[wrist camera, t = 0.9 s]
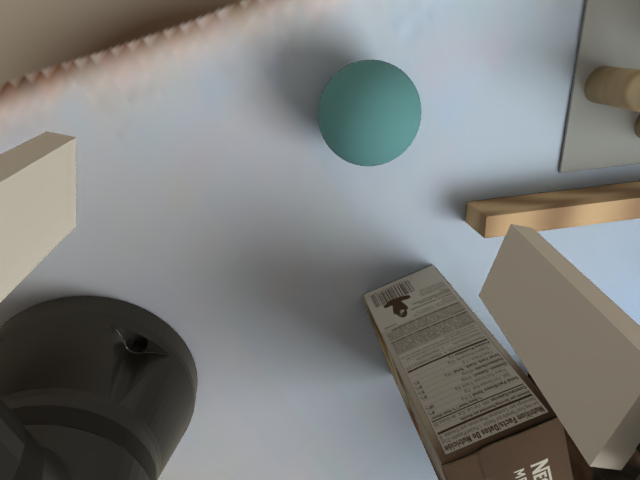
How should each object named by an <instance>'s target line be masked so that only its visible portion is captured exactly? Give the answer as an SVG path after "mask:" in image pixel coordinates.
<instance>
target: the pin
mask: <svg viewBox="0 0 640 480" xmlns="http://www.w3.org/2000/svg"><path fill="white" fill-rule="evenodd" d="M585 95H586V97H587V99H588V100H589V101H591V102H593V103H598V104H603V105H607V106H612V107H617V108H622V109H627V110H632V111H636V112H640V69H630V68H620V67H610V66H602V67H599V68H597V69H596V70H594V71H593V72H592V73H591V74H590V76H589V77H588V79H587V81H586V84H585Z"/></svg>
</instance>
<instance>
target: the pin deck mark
mask: <svg viewBox="0 0 640 480" xmlns="http://www.w3.org/2000/svg"><path fill="white" fill-rule="evenodd" d="M602 66H610V67H620V68H630V69H640V0H586V2H585V8H584V15H583V21H582V27H581V34H580V40H579V46H578V53H577V59H576V65H575V72H574V78H573V84H572V91H571V97H570V104H569V110H568V116H567V123H566V129H565V135H564V142H563V148H562V154H561V161H560V167H559V172H560V173H562V172H571V171H580V170H588V169H597V168H606V167H614V166H623V165H632V164H640V138H639V137H638V136H637V135H636V133H635V123H636V120H637V118H638V117H639V115H640V112H636V111H632V110H627V109H622V108H617V107H612V106H607V105H603V104H598V103H593V102H591V101H589V100H588V99H587V97H586V95H585V84H586V81H587V79H588V77H589V76H590V74H591V73H592V72H593V71H594V70H596V69H597V68H599V67H602Z"/></svg>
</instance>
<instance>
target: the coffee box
mask: <svg viewBox="0 0 640 480" xmlns="http://www.w3.org/2000/svg"><path fill="white" fill-rule="evenodd" d="M363 300H364V303H365V306H366V309H367V311H368V314H369V317H370V319H371V322H372V325H373V327H374V330H375V332H376V335H377V337H378V340H379V343H380V345H381V347H382V350H383V352H384V355H385V357H386V360H387V362H388V365H389V367H390V369H391V372H392V374H393V377H394V379H395V381H396V384H397V386H398V388H399V391H400V393H401V395H402V397H403V400H404V402H405V404H406V407H407V409H408V411H409V414H410V416H411V418H412V421H413V423H414V425H415V427H416V430H417V432H418V434H419V436H420V439H421V441H422V443H423V445H424V448H425V450H426V452H427V454H428V457H429V459H430V461H431V463H432V465H433V468H434V470H435V472H436V475H437V477H438V479H439V480H574V479H573V475H572V470H571V464H570V459H569V454H568V449H567V443H566V438H565V432H564V427H563V424H562V423H561V421H560V420H559V418H558V417H557V415H556V414H555V412H554V411H553V409H552V408H551V406H550V404H549V403H548V401H547V400H546V398H545V397H544V396H543V395H542V393H541V392H540V391H539V390H538V389H537V387H536V386H535V385H534V384H533V383H532V381H531V380H530V379H529V378H528V377H527V376H526V374H525V373H524V372H523V371H522V370H521V368H520V367H519V366H518V365H517V364H516V362H515V361H514V360H513V359H512V358H511V356H510V355H509V354H508V353H507V352H506V350H505V349H504V348H503V347H502V346H501V344H500V343H499V342H498V341H497V340H496V338H495V337H494V336H493V335H492V334H491V332H490V331H489V330H488V329H487V328H486V327H485V325H484V324H483V323H482V322H481V320H480V319H479V318H478V317H477V316H476V315H475V313H474V312H473V311H472V310H471V309H470V307H469V306H468V305H467V304H466V303H465V301H464V300H463V299H462V298H461V297H460V296H459V294H458V293H457V292H456V291H455V290H454V288H453V287H452V286H451V284H450V283H449V282H448V281H447V280H446V279H445V277H444V276H443V275H442V274H441V273H440V272H439V271H438V269H437V268H436V267H435V266H434V265H432V266H429V267H426V268H424V269H422V270H420V271H417V272H415V273H413V274H410V275H408V276H405V277H403V278H401V279H398V280H396V281H394V282H391V283H389V284H387V285H385V286H382V287H380V288H378V289H375V290H373V291H371V292H368V293H366V294H364V295H363Z"/></svg>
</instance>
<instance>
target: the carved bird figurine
mask: <svg viewBox="0 0 640 480" xmlns="http://www.w3.org/2000/svg"><path fill="white" fill-rule="evenodd" d="M527 377H528V378H529V379H530V380H531V381H532V383H533V384H534V385H535V386H536V387H537V389H538V390H539V391H540V389H539V388H538V386H537V384H536V383H535V381H534V380H533V378H532V377H531V375H530V374H529V375H528V376H527ZM540 392H541V391H540ZM541 393H542V392H541ZM542 395H543V394H542ZM543 396H544V395H543ZM563 427H564V426H563ZM564 432H565V438H566V443H567V449H568V454H569V459H570V464H571V470H572V475H573V479H574V480H636V479H637V477H638V476H639V475H640V453H639V452H638V451H637V450H636V451H635V452H634V454H633V455H632V456H631V458H630V459H629V460H628V462H627V463H626V464H625V466H624V467H623V469H622V470H615V469H607V468H598V467H590V466H589V464H588V463H587V461H586V460H585V458H584V457H583V455H582V454H581V452H580V451H579V449H578V448H577V446H576V444H575V443H574V441H573V440H572V438H571V437H570V435H569V434H568V432H567V431H566V429H565V428H564Z"/></svg>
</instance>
